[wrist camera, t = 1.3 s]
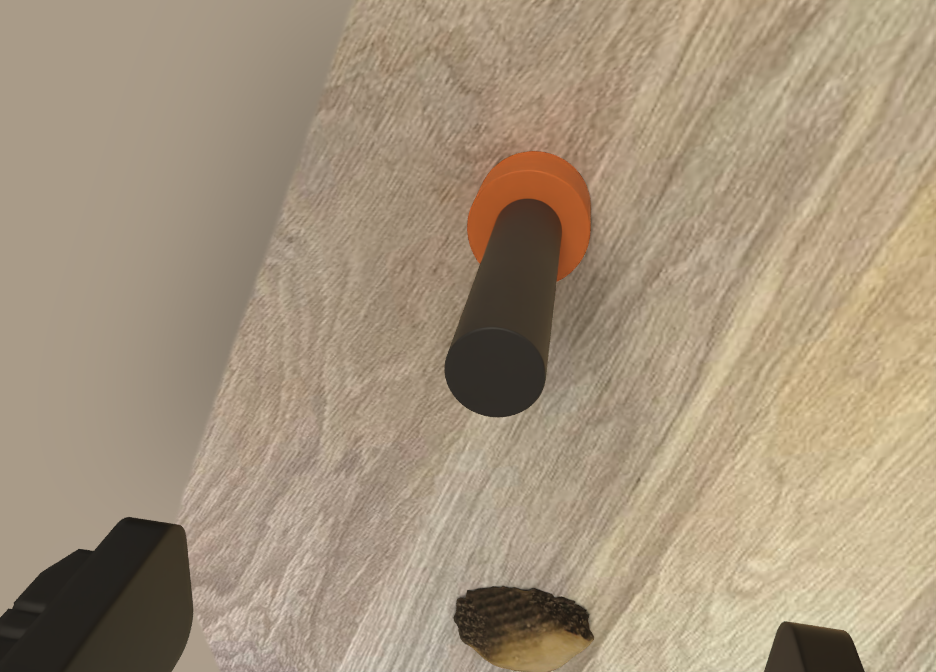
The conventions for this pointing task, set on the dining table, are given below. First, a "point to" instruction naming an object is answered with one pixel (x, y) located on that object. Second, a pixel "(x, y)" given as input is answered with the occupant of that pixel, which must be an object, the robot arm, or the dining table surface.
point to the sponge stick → (516, 280)
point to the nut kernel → (522, 628)
